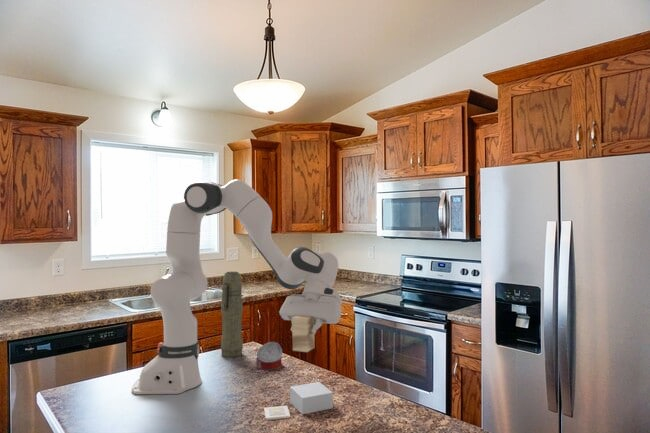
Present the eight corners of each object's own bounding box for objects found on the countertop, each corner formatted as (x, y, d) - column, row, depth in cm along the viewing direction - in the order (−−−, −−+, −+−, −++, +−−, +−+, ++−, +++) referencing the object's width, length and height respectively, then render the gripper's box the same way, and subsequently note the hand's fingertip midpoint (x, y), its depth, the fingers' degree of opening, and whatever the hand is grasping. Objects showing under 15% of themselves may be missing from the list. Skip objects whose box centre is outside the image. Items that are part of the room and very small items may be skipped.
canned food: (281, 376, 175) (292, 355, 173) (262, 380, 167) (273, 358, 165) (266, 357, 182) (275, 337, 180) (247, 360, 174) (256, 339, 172)
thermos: (247, 351, 191) (247, 270, 192) (234, 360, 180) (235, 274, 180) (229, 350, 194) (229, 270, 194) (215, 358, 182) (215, 273, 183)
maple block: (307, 352, 133) (306, 318, 133) (292, 350, 135) (292, 317, 135) (314, 347, 137) (313, 315, 138) (300, 346, 140) (299, 314, 140)
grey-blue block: (302, 415, 130) (302, 398, 130) (289, 402, 139) (290, 386, 139) (332, 409, 134) (332, 392, 134) (318, 397, 143) (318, 381, 143)
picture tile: (266, 420, 126) (266, 417, 126) (263, 409, 133) (263, 407, 133) (290, 417, 127) (290, 414, 127) (287, 407, 134) (287, 405, 134)
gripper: (284, 288, 147) (269, 324, 138) (341, 290, 139) (329, 329, 130) (291, 299, 151) (277, 334, 142) (347, 302, 142) (335, 340, 133)
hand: (302, 332), depth 136 cm, fingers closed on maple block, 5 cm apart
